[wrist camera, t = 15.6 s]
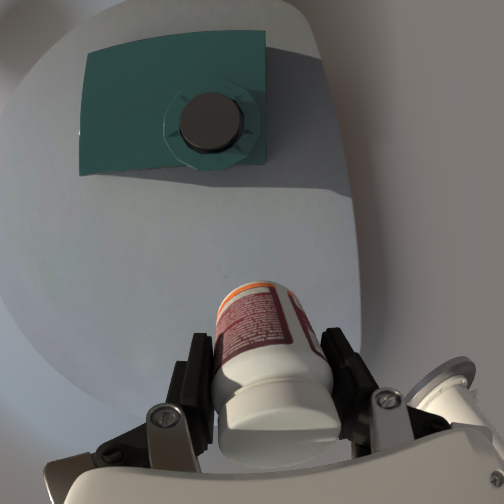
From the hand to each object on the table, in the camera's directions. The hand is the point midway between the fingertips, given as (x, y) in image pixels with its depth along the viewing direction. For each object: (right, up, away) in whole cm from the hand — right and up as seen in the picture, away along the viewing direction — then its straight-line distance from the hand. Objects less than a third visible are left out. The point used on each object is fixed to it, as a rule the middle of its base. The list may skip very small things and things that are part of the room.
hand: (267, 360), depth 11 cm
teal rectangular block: (-8, +18, +10) cm, 22 cm away
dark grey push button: (-4, +14, +6) cm, 16 cm away
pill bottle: (0, +1, +4) cm, 4 cm away
